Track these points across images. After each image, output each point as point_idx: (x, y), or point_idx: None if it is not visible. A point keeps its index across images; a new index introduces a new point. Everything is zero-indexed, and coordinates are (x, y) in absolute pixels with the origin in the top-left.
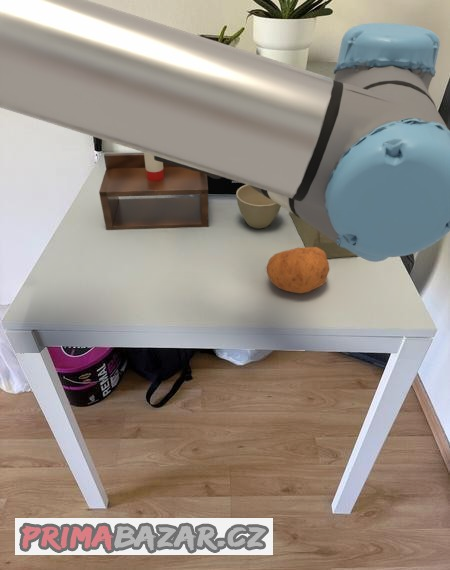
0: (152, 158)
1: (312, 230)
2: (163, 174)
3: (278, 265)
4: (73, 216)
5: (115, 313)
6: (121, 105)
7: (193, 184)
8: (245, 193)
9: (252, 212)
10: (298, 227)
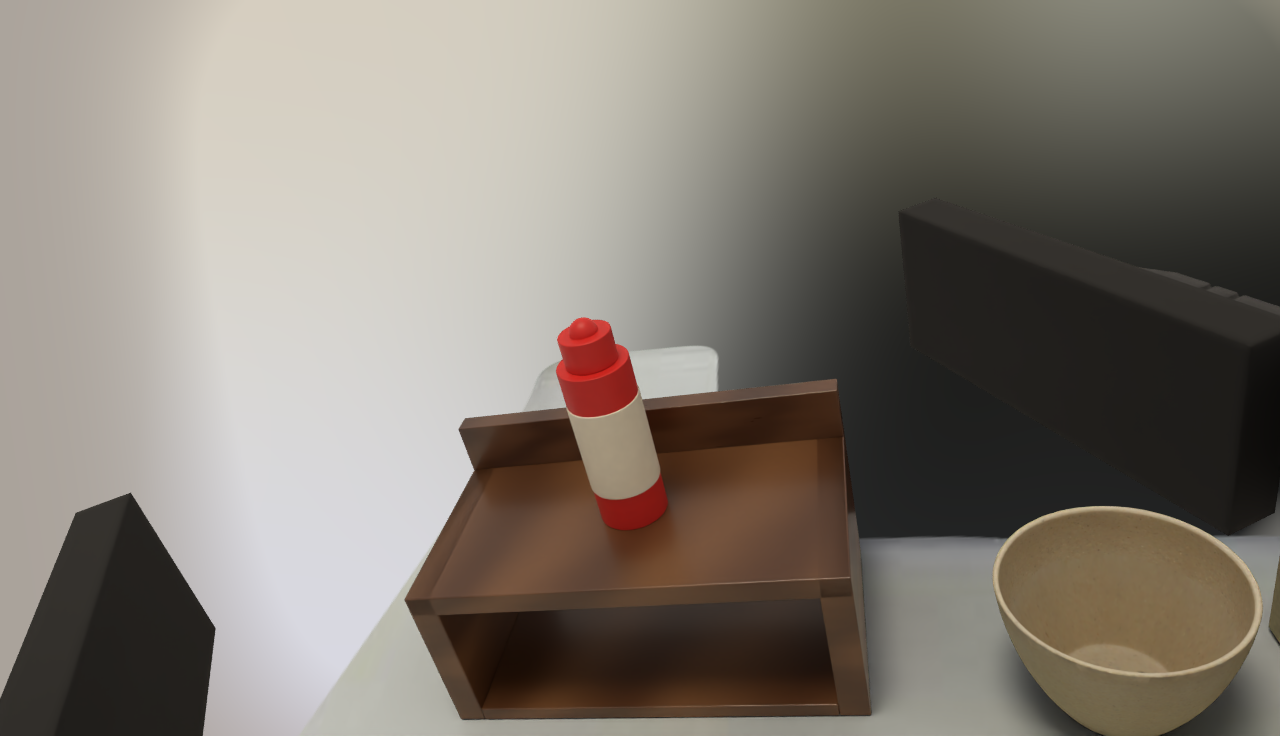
0: (603, 451)
1: None
2: (663, 497)
3: None
4: (378, 640)
5: None
6: None
7: (785, 547)
8: (1035, 558)
9: (1093, 695)
10: None
